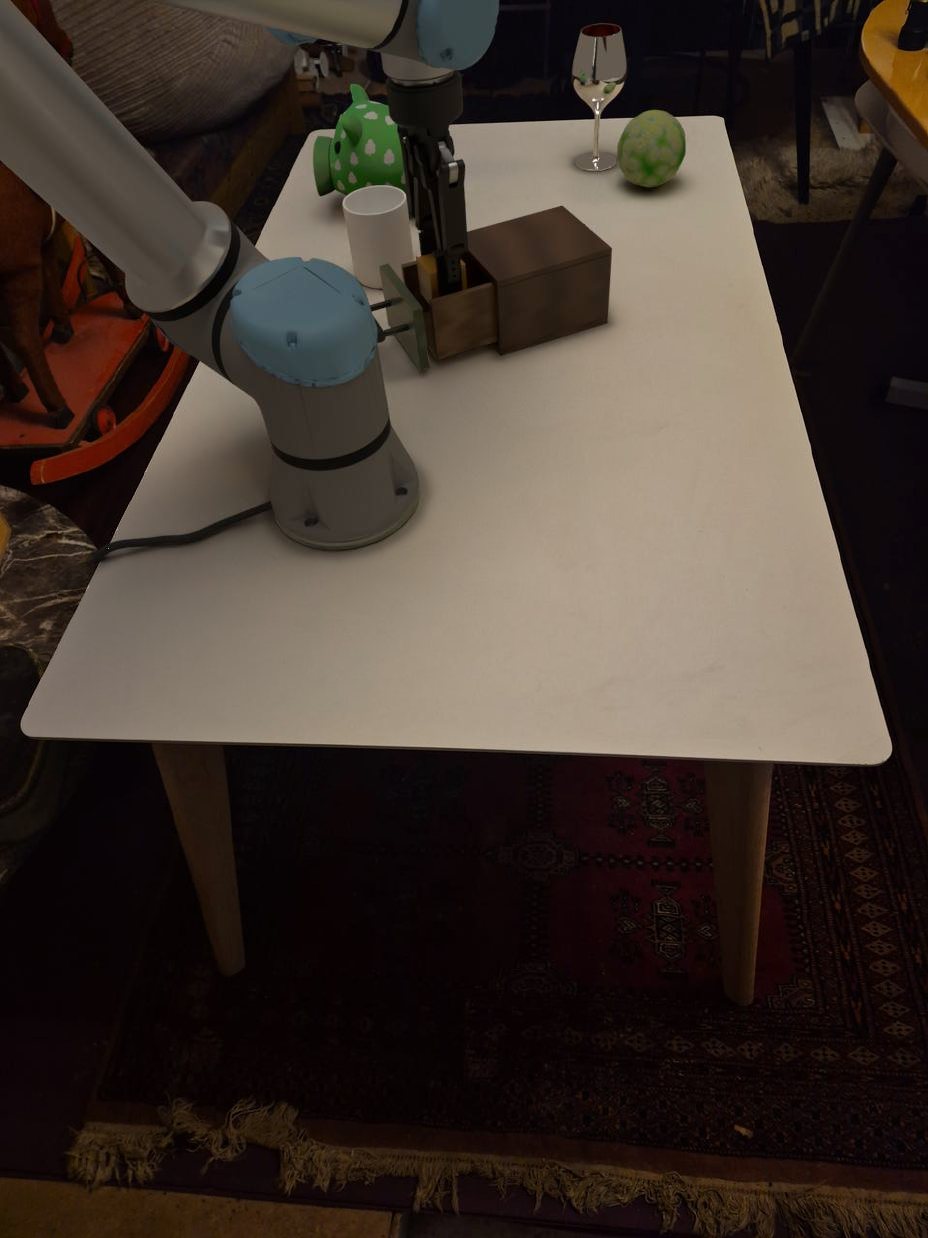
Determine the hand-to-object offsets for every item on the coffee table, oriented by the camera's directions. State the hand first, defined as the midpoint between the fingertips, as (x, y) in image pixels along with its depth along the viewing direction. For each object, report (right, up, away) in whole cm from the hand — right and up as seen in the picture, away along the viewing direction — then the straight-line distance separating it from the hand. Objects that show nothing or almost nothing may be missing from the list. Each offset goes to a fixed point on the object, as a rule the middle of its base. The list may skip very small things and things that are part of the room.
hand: (443, 293), depth 102 cm
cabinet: (+11, 0, +7) cm, 13 cm away
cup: (-8, +10, +18) cm, 22 cm away
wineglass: (+23, +34, +34) cm, 53 cm away
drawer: (-1, -4, +4) cm, 5 cm away
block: (0, 0, 0) cm, 0 cm away
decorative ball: (+30, +27, +28) cm, 49 cm away
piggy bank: (-9, +25, +30) cm, 40 cm away
